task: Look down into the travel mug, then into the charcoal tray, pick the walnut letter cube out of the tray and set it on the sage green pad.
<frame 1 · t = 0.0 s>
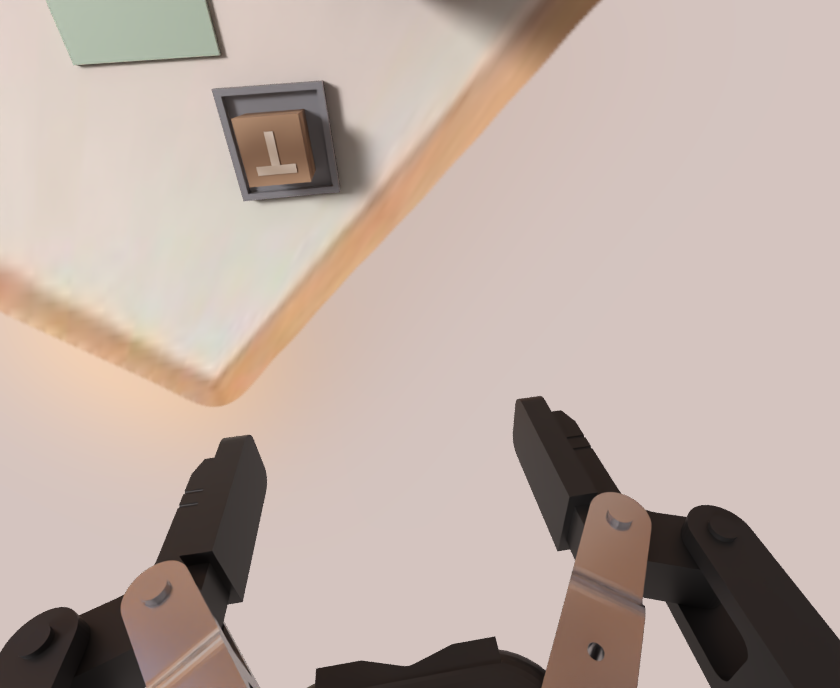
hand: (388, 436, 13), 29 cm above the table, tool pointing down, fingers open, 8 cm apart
letter cube: (282, 143, 34), resting on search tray
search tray: (282, 142, 34), on the table
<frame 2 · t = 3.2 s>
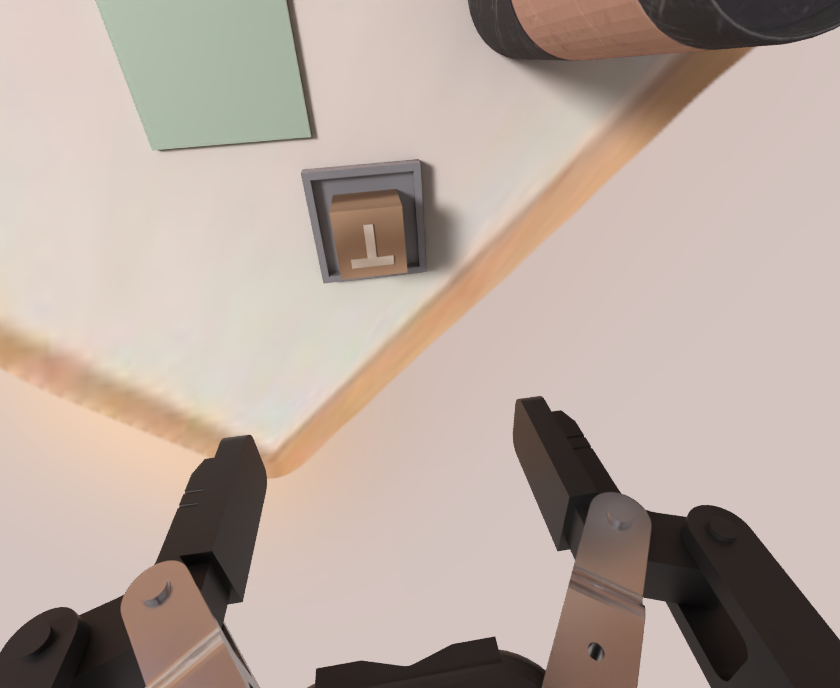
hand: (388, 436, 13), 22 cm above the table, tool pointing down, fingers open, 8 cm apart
letter cube: (368, 223, 31), resting on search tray
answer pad: (208, 49, 25), on the table
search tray: (368, 221, 31), on the table
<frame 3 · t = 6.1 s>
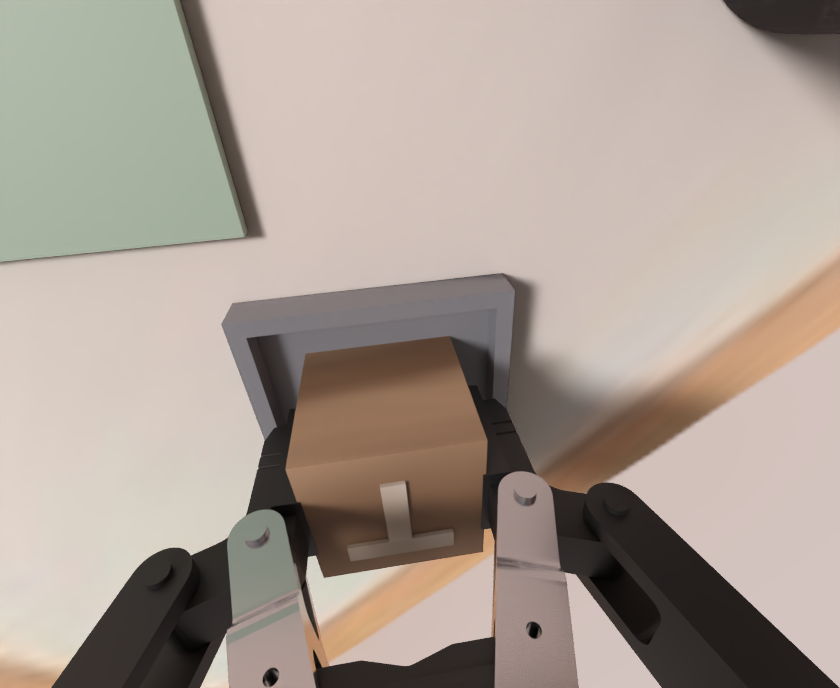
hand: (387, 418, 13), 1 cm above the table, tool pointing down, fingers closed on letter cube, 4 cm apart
letter cube: (386, 399, 14), resting on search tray, touching gripper
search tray: (385, 391, 15), on the table
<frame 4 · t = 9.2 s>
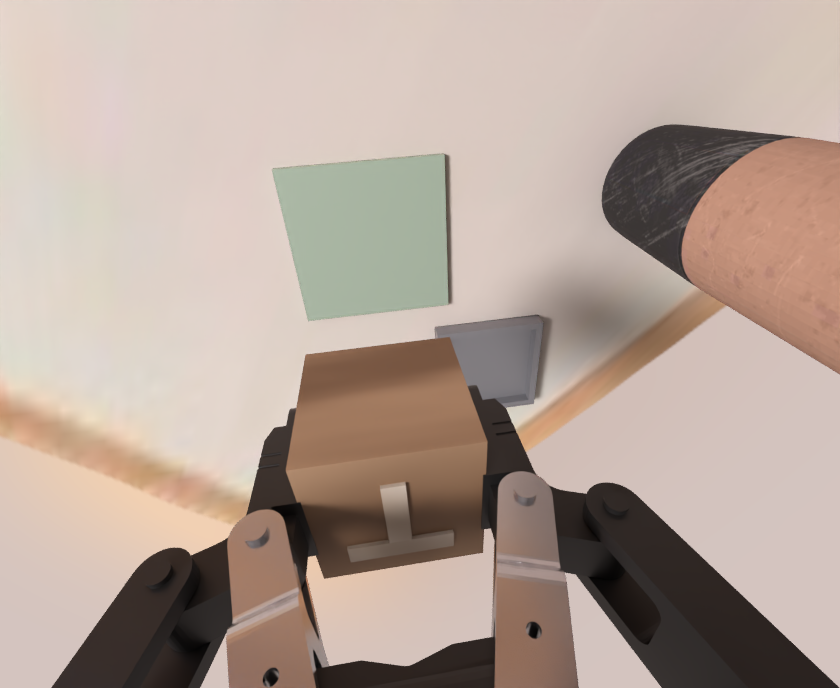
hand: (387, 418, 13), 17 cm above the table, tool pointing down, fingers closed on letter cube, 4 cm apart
travel mug: (651, 183, 28), on the table
letter cube: (386, 400, 14), point 16 cm above the table, touching gripper
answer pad: (370, 243, 27), on the table
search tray: (485, 363, 34), on the table
when the fingers open (2 cm above the table, at t = 12.1 s): letter cube drops 1 cm, resting on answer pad.
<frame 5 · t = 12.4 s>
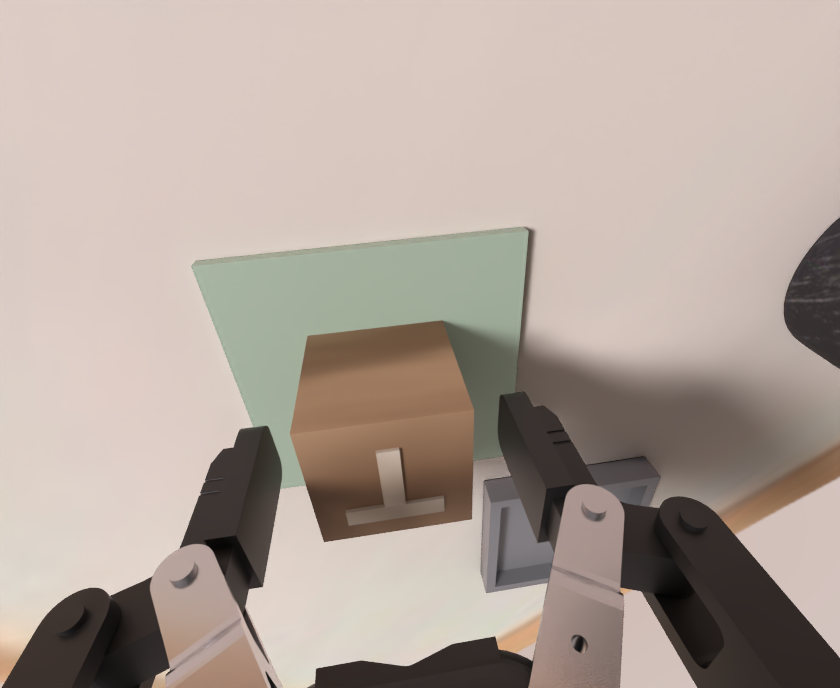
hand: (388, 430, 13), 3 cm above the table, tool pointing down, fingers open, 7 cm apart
letter cube: (382, 380, 15), resting on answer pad
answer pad: (382, 373, 15), on the table
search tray: (555, 519, 22), on the table
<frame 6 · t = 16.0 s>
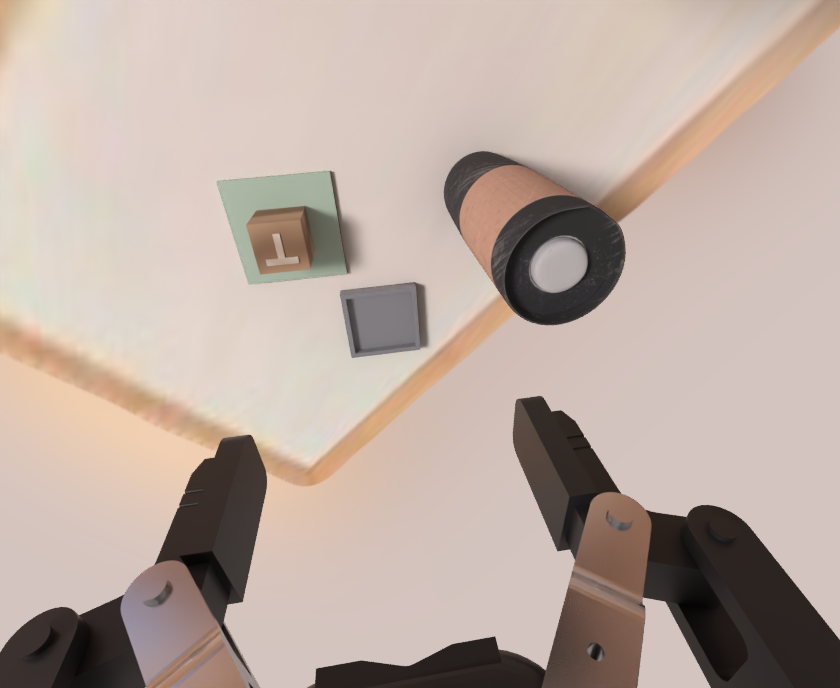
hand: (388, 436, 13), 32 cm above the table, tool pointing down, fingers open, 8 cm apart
travel mug: (478, 189, 41), on the table
letter cube: (286, 231, 40), resting on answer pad
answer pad: (287, 230, 41), on the table
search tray: (381, 318, 47), on the table
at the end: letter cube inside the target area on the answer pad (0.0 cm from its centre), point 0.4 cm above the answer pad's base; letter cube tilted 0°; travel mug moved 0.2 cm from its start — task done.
